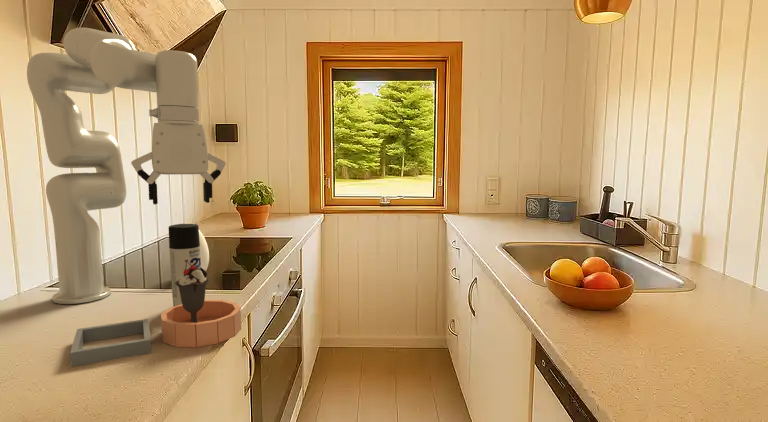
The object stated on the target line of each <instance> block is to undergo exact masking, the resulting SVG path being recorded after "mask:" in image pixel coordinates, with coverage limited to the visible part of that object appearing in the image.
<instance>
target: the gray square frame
mask: <svg viewBox="0 0 768 422" xmlns="http://www.w3.org/2000/svg"><path fill="white" fill-rule="evenodd" d="M150 330H151V329H150V322H149V318H144V319H137V320H131V321H130V320H129V321H124V322H116V323H109V324H103V325H95V326H89V327H83V328H77V329H76V332H75V336H74V338H73V343H72V345H71V349H70V352H69V357H70V367H77V366H83V365H84V366H85V365H88V364H89V365H90V364H93V363H94V364H95V363H100V362H106V361H110V360H111V361H113V360H119V359H123V358H128V357H133V356H140V355H141V356H142V355H145V354H150V353H151V354H152V344H151V343H152V341H151V333H150V332H151V331H150ZM137 334H143V339H142V338H141V339H135V340H129V341H123V342H118V343H117V342H116V343H111V344H105V345H98V346H92V347H87V348H84V343H86V342H93V341H99V340H107V339H112V338H118V337H125V336H130V335H131V336H132V335H137Z"/></svg>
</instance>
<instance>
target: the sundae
mask: <svg viewBox="0 0 768 422" xmlns="http://www.w3.org/2000/svg"><path fill="white" fill-rule="evenodd" d="M185 262H186V267H187V262H188V260H185ZM188 264H189V263H188ZM189 265H191V264H189ZM183 273H184V274H183V275H182V276H181V277H180V279H179V280H178V281H176V282H174V283H175V284H176V285H177V286H178V287H179V291H180V296H181V302H182V305H183V308H184V309H185V310H186V311H188V312H190V314H191V322H190V323H198V321H197V312H198V311H199V310H200V309H201V308H202V307H203V305H204V300H206V299H205V298H206V289H207V284H209V282H210V280H211V279H210V278H209V277H208V272H207V270H206V271H205V270H204V269H203V268H200V269H199V268H196V267H195V266H194V265H191V266H190V268H189V269H186V268H185V270H184V271H183Z"/></svg>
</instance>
